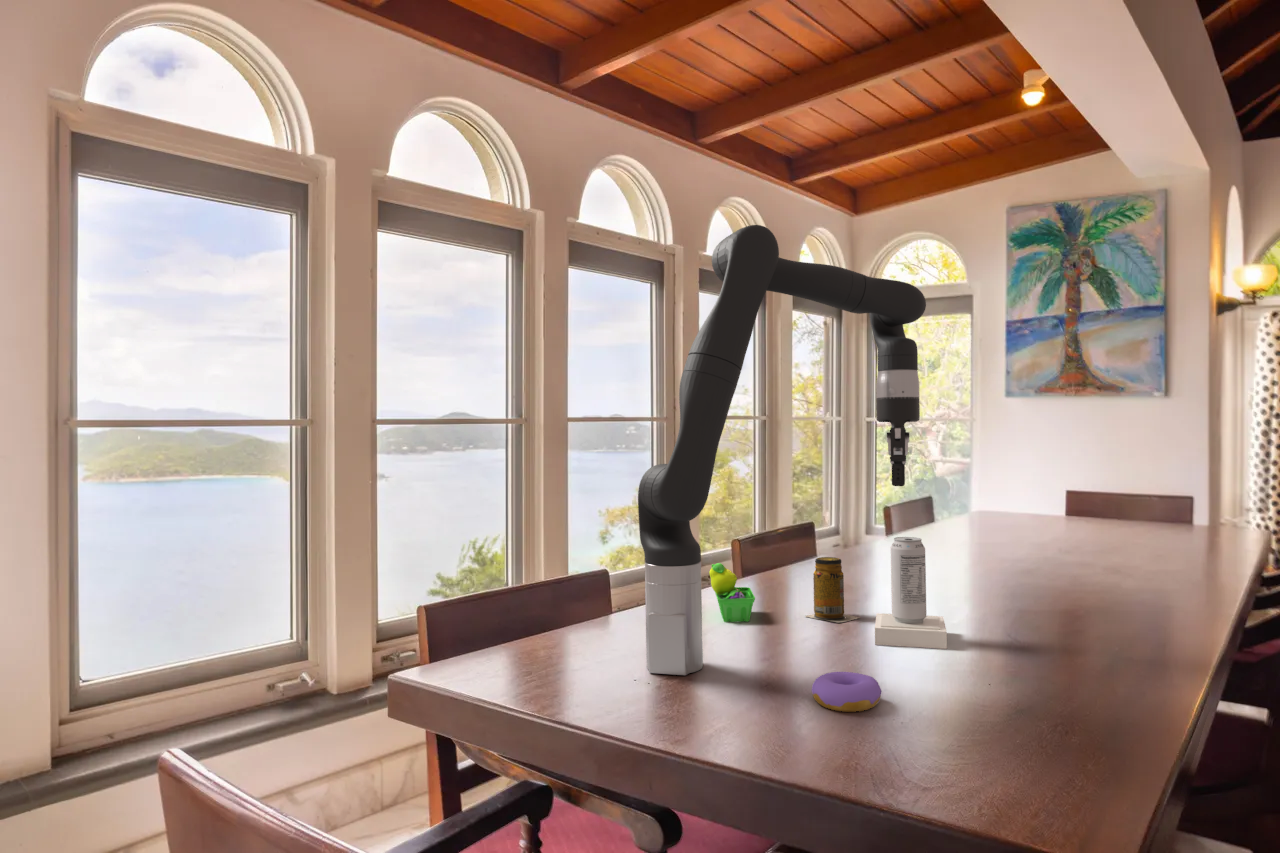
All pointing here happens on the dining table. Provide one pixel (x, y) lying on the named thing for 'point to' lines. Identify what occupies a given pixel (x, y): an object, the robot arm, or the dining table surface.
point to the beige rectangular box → (911, 632)
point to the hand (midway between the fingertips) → (898, 484)
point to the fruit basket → (731, 595)
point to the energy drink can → (908, 580)
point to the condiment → (829, 591)
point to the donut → (846, 691)
